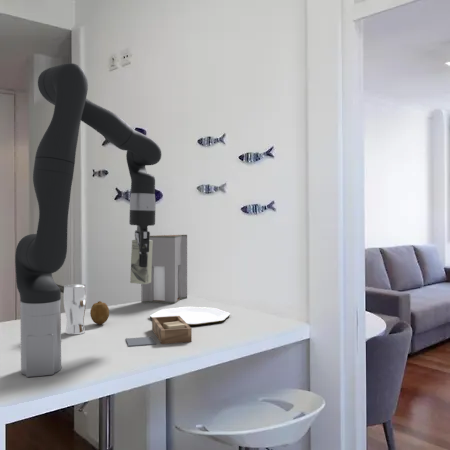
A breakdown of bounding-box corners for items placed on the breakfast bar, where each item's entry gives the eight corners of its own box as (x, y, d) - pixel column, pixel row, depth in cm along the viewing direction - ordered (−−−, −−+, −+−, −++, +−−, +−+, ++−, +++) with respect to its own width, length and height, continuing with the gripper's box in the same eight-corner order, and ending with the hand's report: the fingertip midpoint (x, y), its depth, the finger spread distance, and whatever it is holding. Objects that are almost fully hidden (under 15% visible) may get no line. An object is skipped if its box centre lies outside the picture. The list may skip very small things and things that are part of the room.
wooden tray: (191, 341, 147) (191, 328, 147) (161, 344, 144) (161, 330, 144) (179, 327, 164) (179, 315, 164) (152, 329, 161) (152, 317, 161)
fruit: (113, 323, 169) (113, 300, 169) (99, 327, 164) (99, 303, 164) (100, 321, 173) (100, 298, 172) (86, 325, 167) (86, 301, 167)
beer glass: (78, 328, 162) (78, 283, 162) (91, 332, 158) (90, 285, 157) (59, 332, 157) (59, 285, 156) (72, 336, 152) (71, 288, 152)
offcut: (184, 332, 149) (184, 324, 149) (169, 334, 146) (169, 326, 146) (178, 329, 153) (178, 321, 153) (163, 331, 151) (163, 322, 151)
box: (129, 283, 145) (130, 239, 145) (136, 281, 149) (137, 239, 149) (146, 284, 143) (146, 240, 143) (152, 282, 148) (153, 239, 148)
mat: (156, 344, 144) (156, 343, 144) (128, 346, 141) (128, 345, 141) (152, 337, 151) (152, 336, 151) (125, 339, 149) (125, 338, 149)
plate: (235, 312, 190) (235, 308, 189) (217, 329, 163) (217, 325, 163) (168, 309, 196) (168, 305, 196) (139, 324, 170) (139, 320, 169)
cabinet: (185, 297, 219) (185, 234, 218) (195, 301, 211) (195, 235, 210) (141, 302, 208) (141, 235, 207) (150, 306, 200) (150, 237, 199)
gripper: (159, 209, 140) (158, 268, 141) (151, 210, 154) (150, 263, 154) (132, 208, 138) (131, 268, 138) (127, 209, 152) (125, 263, 152)
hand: (141, 265), depth 146 cm, fingers closed on box, 6 cm apart
